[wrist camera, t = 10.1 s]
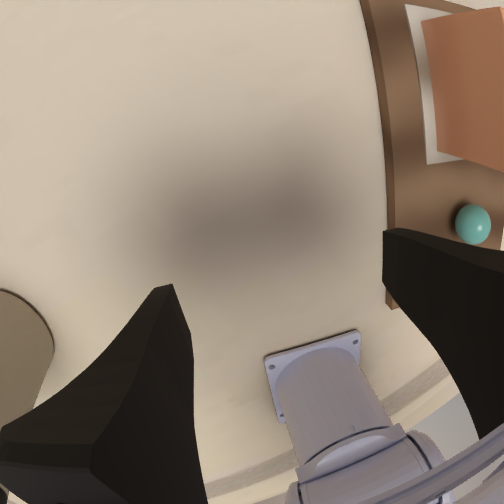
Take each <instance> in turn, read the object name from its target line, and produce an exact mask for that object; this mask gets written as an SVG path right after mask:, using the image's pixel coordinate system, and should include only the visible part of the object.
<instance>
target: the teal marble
mask: <svg viewBox="0 0 504 504" xmlns="http://www.w3.org/2000/svg"><path fill="white" fill-rule="evenodd" d="M455 229H456V232H457V234H458V236H459V237H460V239H461V240H462V241H464V242H465V243H467V244H471V245H476V244H480V243H482V242H483V241H484V240H485V239H486V238H487V237H488V235H489V233H490V230H491V220H490V217H489V215H488V213H487V211H486V210H485V209H484V208H483V207H481V206H479V205H476V204H468V205H466V206H464V207H462V208H461V209H460V210H459V212H458V213H457V216H456V219H455Z"/></svg>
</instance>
